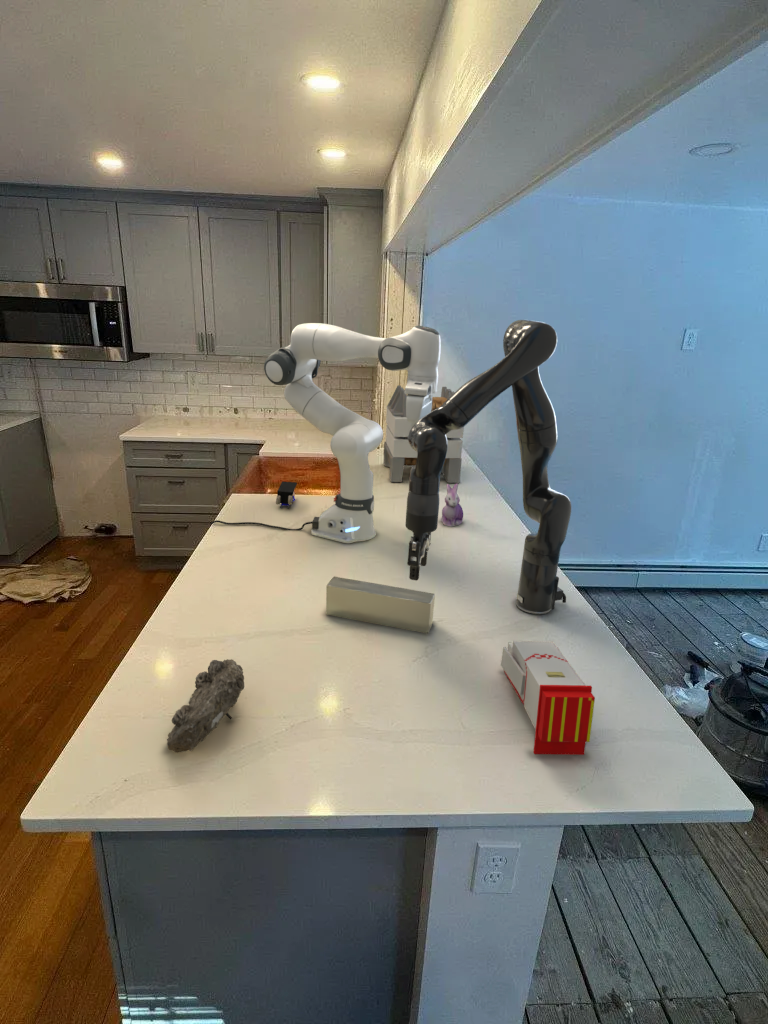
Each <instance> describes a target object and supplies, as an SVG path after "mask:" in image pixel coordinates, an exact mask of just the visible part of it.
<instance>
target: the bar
mask: <svg viewBox="0 0 768 1024" xmlns="http://www.w3.org/2000/svg"><path fill="white" fill-rule="evenodd" d="M325 586H326V588H325V589H326V598H325V600H326V601H325V602H326V603H325V610H326V611H325V615H327V616H332V617H338V618H342V619H348V620H354V621H358V622H364V623H369V624H374V625H380V626H385V627H391V628H397V629H401V630H407V631H410V632H411V631H412V632H416V633H423V634H429V633H430V630H431V628H432V625H433V622H434V609H435V598H436V593H434V592H427V591H421V590H415V589H410V588H404V587H398V586H392V585H386V584H380V583H375V582H369V581H362V580H358V579H357V580H356V579H352V578H344V577H339V576H333V577H332V578H331V580H329V582H328V583H327V584H326V585H325Z"/></svg>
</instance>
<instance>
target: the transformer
mask: <svg viewBox="0 0 768 1024" xmlns="http://www.w3.org/2000/svg"><path fill="white" fill-rule="evenodd" d="M455 392H456V391H453V390H452V389H451V388H447V386H442V387H441V392H440V393H441V394H440V396H432V410H431V412H432V411H433V410H435V409H437V408H438V407H440V406H441V405H442V404H444V402H445V401H446V400H447V399H448V398H450V397H451V396H452V395H453V394H454V393H455ZM407 395H408V394H405V388H403V387H402V385H399V384H398V385H397V386H396V388H395V390H394V392H393V394H392V395H391V398H390V400H389V402H388V404H387V405H386V413H385V414H386V415H385V423H386V428H385V438H384V442H383V466H384V467H388V468H389V475H388V476H389V477H388V478H389V480H390V482H391V483H402V482H403V475H404V469H405V466H406V467H407V466H411V467H413V466H414V465H416V461H417V451H415V450H414V449H412V447H411V446H410V445H409V442H408V435H409V432H410V430H411V422H407V418H406V398H407ZM464 429H465V426H464V427H463V428H461V429H458V430H452V431H450V432H448V433H447V434H446V437H447V442H448V448H447V454H446V458H445V462H444V465H443V468H442V471H441V474H440V475H443V478H444V479H445V481H446V482H447V484H456V483H457V484H459V483H461V472H462V461H463V460H462V453H463V442H464V441H463V440H462V439H463V438H464V431H465V430H464Z"/></svg>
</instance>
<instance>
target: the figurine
mask: <svg viewBox="0 0 768 1024" xmlns="http://www.w3.org/2000/svg"><path fill="white" fill-rule="evenodd" d="M445 487H446V495H445V497H444V502H445V505H444V506H443V507H442V510H441V519H440V522H441V523H442V524H443V525H444V526H447V527H454V526H459V525H461V524H462V523H463V519H464V511H463V508H462V505H461V504H460V501H461V499H460V496H459V494H458V489H459V483H454V485H453V487H451V485H450V483H447V484H446V486H445Z"/></svg>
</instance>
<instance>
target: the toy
mask: <svg viewBox="0 0 768 1024" xmlns="http://www.w3.org/2000/svg"><path fill="white" fill-rule="evenodd" d="M500 666H501V668H502V669H503V672H504V674H505V676H506V678H507V679H508V681H509V683H510V685H511V686H512V688H513V690H514V691H515V693H516V695H517V697H518V698H519V701H520V702H521V703H522V705H523V707H524V710H525V712H526V714H527V716H528V718H529V720H530V722H531V724H532V725H533V728H534V730H535V731H534V743H533V755H566V756H567V755H569V756H570V755H571V756H572V755H573V756H584V755H585V752H586V751H585V750H586V743H590V741H591V734H592V732H591V731H592V725H593V716H594V710H595V709H594V708H595V699H596V697H595V696H594V694H593V693H592V692H593V687H592V685H587V684H585V681H583V679H581V677H580V676H579V674H578V673H577V672H576V670H575V669H574V667H573V666H572V664H570V662H569V660H568V659H567V658H566V656H564V654H563V653H562V651H561V650H560V648H559V646H557V645H556V643H555V642H554V641H545V640H544V641H543V640H542V641H540V640H537V641H536V640H512V641H509V642H507V647H506V646H503V647H502V653H501V660H500Z"/></svg>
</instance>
